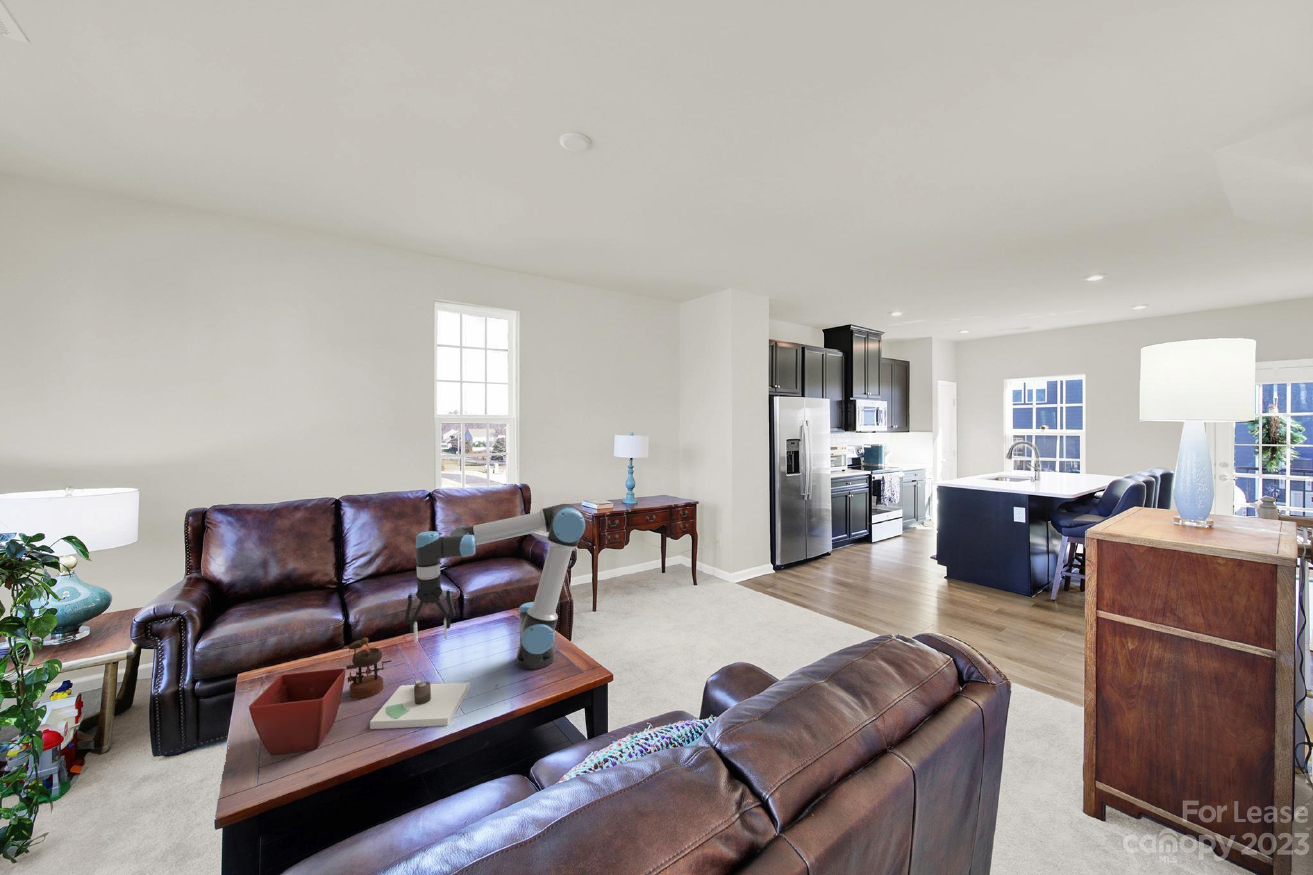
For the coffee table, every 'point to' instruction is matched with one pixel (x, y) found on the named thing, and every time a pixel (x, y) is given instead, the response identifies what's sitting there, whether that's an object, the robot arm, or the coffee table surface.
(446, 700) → the board
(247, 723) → the coffee table surface
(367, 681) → the music box
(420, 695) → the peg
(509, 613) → the coffee table surface
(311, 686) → the plant pot
